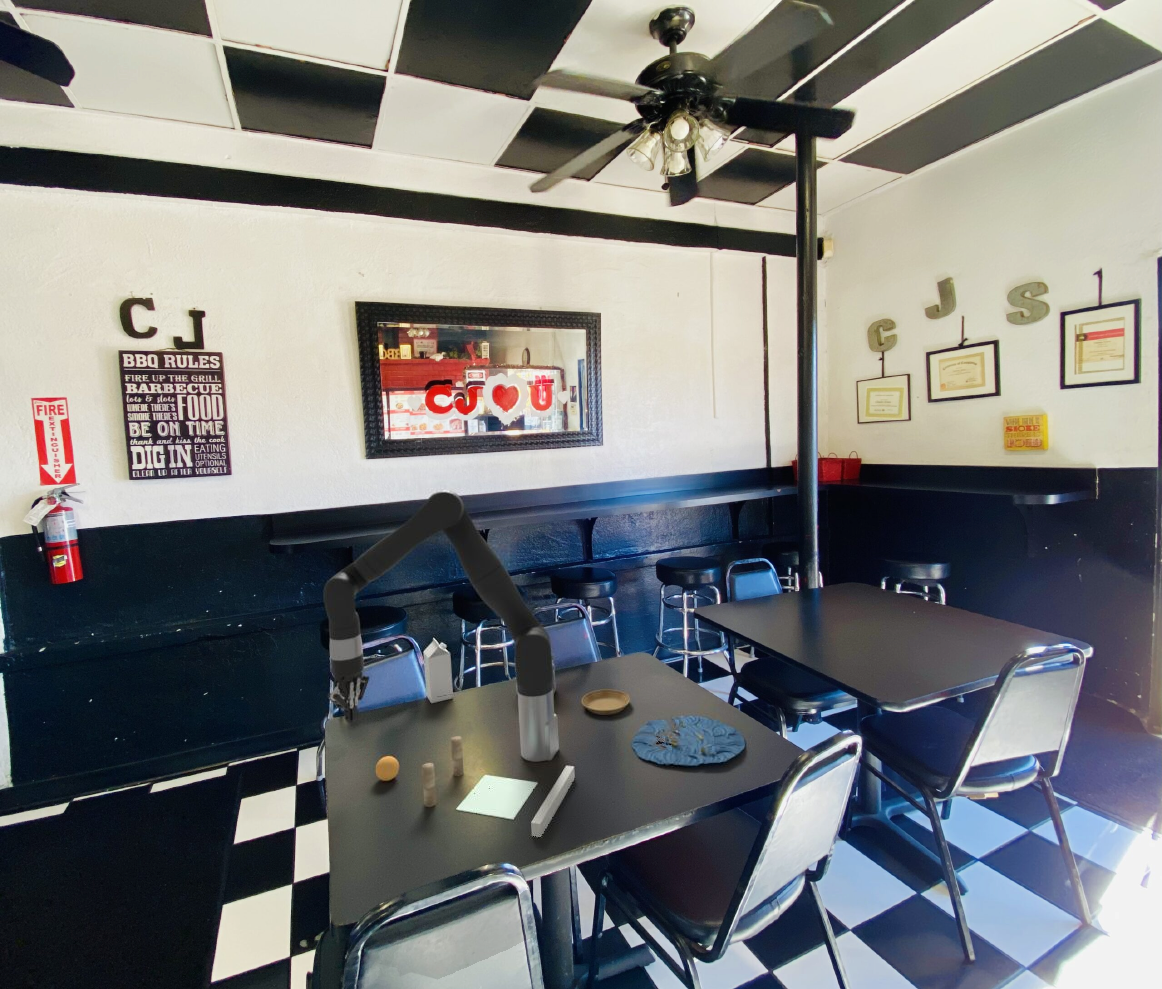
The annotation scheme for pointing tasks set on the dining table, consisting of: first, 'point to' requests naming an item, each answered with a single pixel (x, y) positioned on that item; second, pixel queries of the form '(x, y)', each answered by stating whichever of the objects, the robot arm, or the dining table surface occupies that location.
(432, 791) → the post left
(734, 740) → the decorative plate
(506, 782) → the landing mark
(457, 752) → the post right
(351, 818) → the dining table surface
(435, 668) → the milk carton
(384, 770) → the ball
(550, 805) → the rail
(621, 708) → the plant saucer
